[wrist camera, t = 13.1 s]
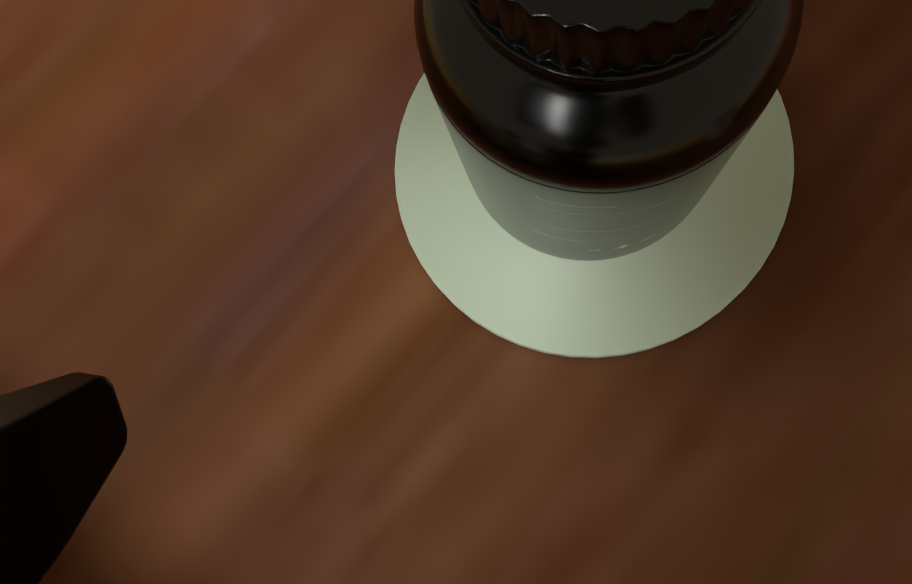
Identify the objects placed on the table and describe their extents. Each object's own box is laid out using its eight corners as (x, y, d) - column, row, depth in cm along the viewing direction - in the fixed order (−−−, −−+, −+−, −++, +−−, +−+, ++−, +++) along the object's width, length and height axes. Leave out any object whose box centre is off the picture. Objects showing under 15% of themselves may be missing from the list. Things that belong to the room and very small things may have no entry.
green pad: (872, 150, 22) (883, 139, 21) (601, 442, 21) (601, 442, 21) (574, -72, 24) (574, -89, 24) (326, 185, 24) (318, 176, 23)
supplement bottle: (441, 68, 23) (318, -293, 11) (674, 4, 22) (806, -448, 11) (496, 296, 22) (422, 161, 10) (744, 234, 21) (978, 15, 9)
